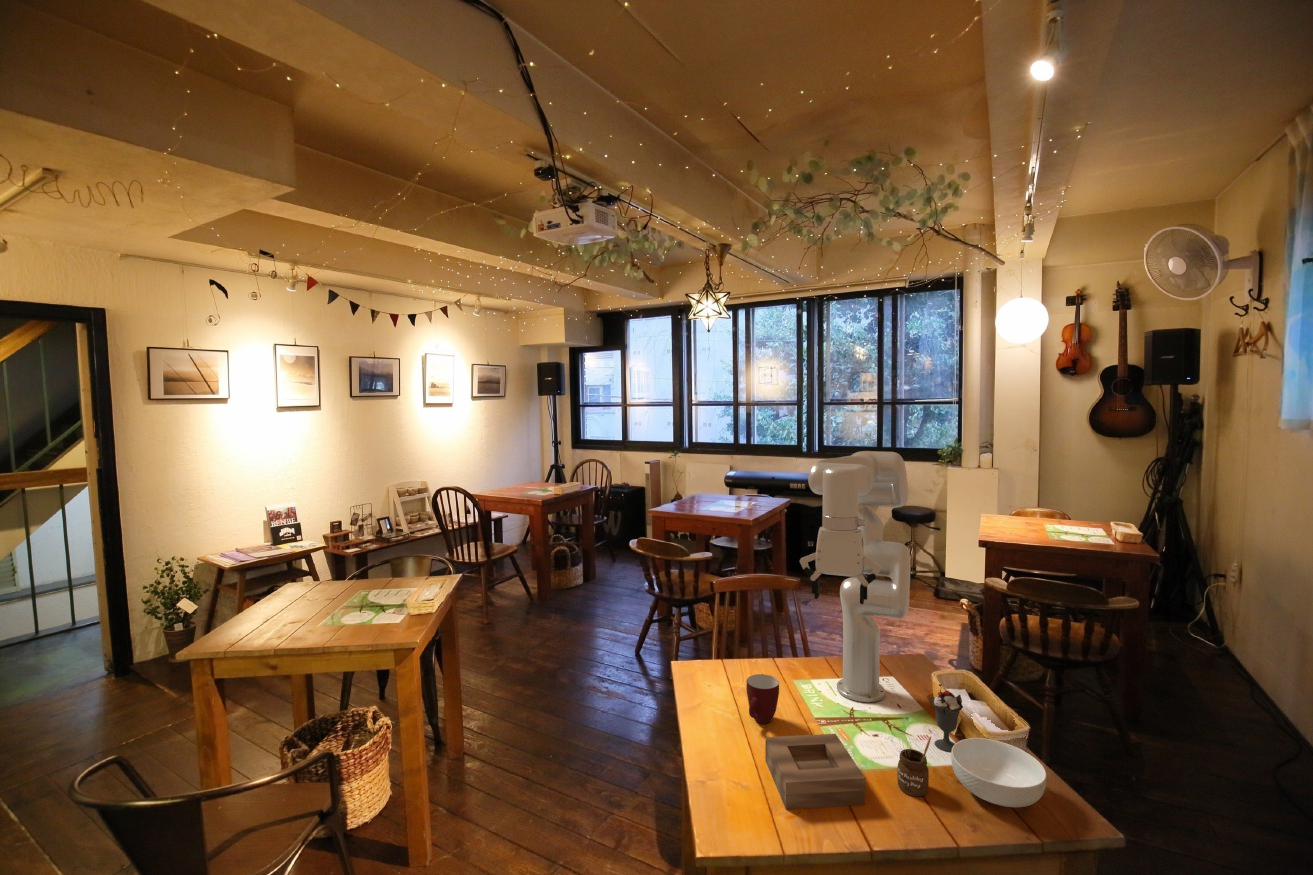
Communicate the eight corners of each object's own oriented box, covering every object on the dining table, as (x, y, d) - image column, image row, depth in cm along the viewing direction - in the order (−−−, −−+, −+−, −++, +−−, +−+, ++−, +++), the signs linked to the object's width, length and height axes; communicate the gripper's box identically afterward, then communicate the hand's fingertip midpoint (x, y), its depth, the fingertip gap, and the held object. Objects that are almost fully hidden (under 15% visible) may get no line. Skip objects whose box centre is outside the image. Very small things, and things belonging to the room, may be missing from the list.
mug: (770, 736, 144) (770, 696, 144) (738, 728, 148) (738, 689, 147) (782, 715, 154) (782, 677, 153) (752, 708, 157) (752, 671, 157)
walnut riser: (765, 760, 135) (765, 737, 134) (835, 757, 136) (835, 733, 135) (785, 809, 119) (785, 782, 118) (864, 804, 120) (865, 777, 120)
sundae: (926, 746, 139) (927, 683, 139) (936, 734, 144) (937, 673, 143) (956, 757, 135) (958, 692, 134) (965, 745, 140) (967, 682, 139)
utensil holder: (902, 775, 129) (903, 721, 128) (933, 787, 125) (934, 731, 124) (893, 789, 124) (893, 733, 124) (925, 802, 120) (926, 744, 120)
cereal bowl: (995, 829, 113) (996, 793, 112) (932, 776, 129) (933, 744, 128) (1066, 812, 117) (1068, 777, 117) (997, 762, 133) (998, 731, 133)
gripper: (882, 523, 133) (881, 599, 134) (802, 517, 140) (802, 590, 141) (881, 529, 126) (879, 609, 127) (797, 523, 133) (796, 600, 134)
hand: (839, 599), depth 134 cm, fingers open, 9 cm apart
